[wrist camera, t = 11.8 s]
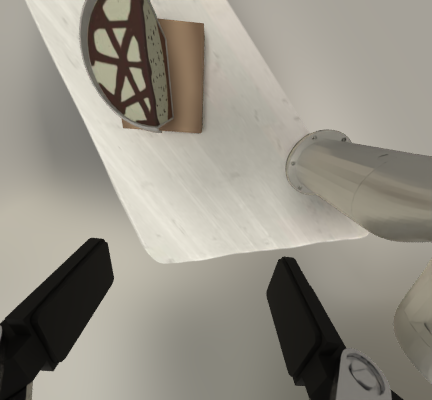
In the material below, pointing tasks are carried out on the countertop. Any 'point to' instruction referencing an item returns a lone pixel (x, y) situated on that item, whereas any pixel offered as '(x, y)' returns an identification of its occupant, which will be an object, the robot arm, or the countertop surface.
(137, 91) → the food container
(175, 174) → the countertop surface
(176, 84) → the walnut stand
